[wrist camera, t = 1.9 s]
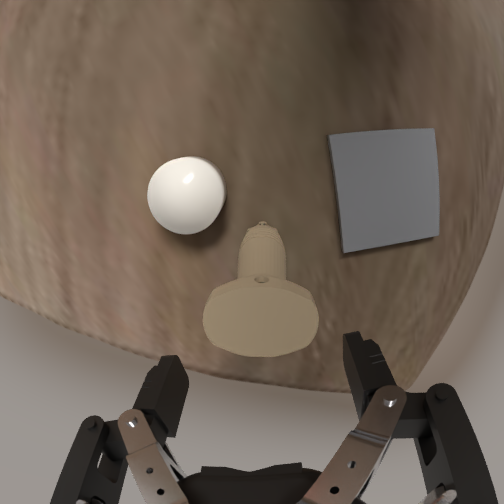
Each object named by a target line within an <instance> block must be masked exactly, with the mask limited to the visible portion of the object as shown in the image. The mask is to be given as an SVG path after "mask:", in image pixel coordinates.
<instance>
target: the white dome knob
mask: <svg viewBox="0 0 504 504" xmlns="http://www.w3.org/2000/svg"><path fill="white" fill-rule="evenodd" d="M226 194H227V187H226V182H225V178H224V176H223V174H222V172H221V171H220V169H219V168H218V167H217V166H216V165H215V164H214V163H212V162H211V161H209V160H207V159H205V158H202V157H198V156H187V157H182V158H178V159H174V160H171V161H169V162H167V163H165V164H163V165H162V166H161V167H160V168H159V169H157V171H156V172H155V173H154V175H153V176H152V178H151V180H150V183H149V186H148V195H147V197H148V204H149V207H150V210H151V212H152V214H153V216H154V218H155V219H156V220H157V221H158V222H159V223H160V224H161V225H162V226H163V227H164V228H166V229H168V230H170V231H172V232H174V233H178V234H193V233H197V232H200V231H202V230H204V229H205V228H207V227H208V226H209V225H210V224H211V223H212V222H213V221H214V220H215V219H216V217H217V215H218V214H219V212H220V210H221V209H222V207H223V205H224V203H225V200H226Z"/></svg>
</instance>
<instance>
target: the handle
mask: <svg viewBox="0 0 504 504" xmlns="http://www.w3.org/2000/svg"><path fill="white" fill-rule="evenodd" d="M318 323H319V316H318V310H317V307H316V303H315V301H314V299H313V297H312V295H311V293H310V292H309V290H307V289H305V288H303V287H301V286H299V285H297V284H295V283H293V282H290V281H288V280H286V253H285V248H284V244H283V242H282V239H281V237H280V236H279V233H278V231H277V229H276V228H272V227H270V226H269V225H268V224H267V223H266V222H263V221H262V222H259V224H258V225H256V226H255V227H252V228H249V229H248V231H247V233H246V235H245V237H244V239H243V241H242V243H241V246H240V250H239V255H238V273H237V279H236V280H233V281H230V282H228V283H225V284H223V285H221V286H219V287H217V288H215V289H214V290H213V291H212V292H211V294H210V296H209V298H208V300H207V302H206V305H205V308H204V312H203V326H204V330H205V333H206V335H207V337H208V338H209V340H210V341H211V342H212V343H213V344H214V345H215V346H217V347H219V348H222V349H224V350H227V351H230V352H232V353H235V354H239V355H242V356H250V357H275V356H281V355H285V354H288V353H291V352H294V351H297V350H300V349H302V348H305V347H307V346H308V345H309V344H310V342H311V341H312V340H313V339H314V337H315V335H316V332H317V329H318Z"/></svg>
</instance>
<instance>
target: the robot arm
mask: <svg viewBox="0 0 504 504" xmlns="http://www.w3.org/2000/svg"><path fill="white" fill-rule="evenodd" d="M343 361H344V368H345V371H346V375H347V378H348V382H349V385H350V389H351V392H352V395H353V400H354V403H355V407H356V411H357V414H358V418H359V423H358V425H357V427H356V428H355V430H354V431H351V432H350V433H349V434H348V435H347V437H346V438H345V440H344V441H343V443H342V445H341V446H340V448H339V449H338V451H337V452H336V454H335V455H334V457H333V458H332V460H331V461H330V462H329V464H328V465H327V467H326V468H325V470H324V471H323V472H320V471H317V470H313V469H307V468H302V463H301V462H300V463H292V464H283V465H274V466H271V467H268V468H264V469H260V470H256V471H252V472H247V471H241V470H236V469H232V468H227V467H207V466H202V468H201V472H200V473H196V474H193V475H190V476H187V475H186V474H185V473H184V471H183V470H182V469H181V467H180V465H179V464H178V462H177V460H176V459H175V457H174V456H173V454H172V452H171V450H170V449H169V447H168V445H167V443H166V442H165V441H166V438H167V437H174V438H175V436H176V432H177V428H178V425H179V421H180V417H181V414H182V410H183V406H184V402H185V398H186V395H187V392H188V388H189V379H188V376H187V373H186V371H185V369H184V367H183V365H182V363H181V361H180V359H179V357H178V356H177V355H168V356H162V357H161V359H160V361H159V364H158V366H154V367H153V368H152V369H151V370H150V371H149V372H148V373H147V376H146V378H145V382H144V383H143V385H142V388H141V390H140V392H139V394H138V397H137V399H136V401H135V404H134V406H133V408H132V409H130V410H127V411H125V412H124V413H122V414H121V415H120V417H119V419H118V420H114V421H107V422H104V421H103V419H101V417H99V416H90V417H88V418H86V419H85V420H84V421H83V422H82V424H81V426H80V429H79V431H78V433H77V435H76V438H75V440H74V442H73V445H72V447H71V449H70V452H69V454H68V457H67V459H66V462H65V464H64V467H63V469H62V472H61V474H60V477H59V480H58V482H57V485H56V488H55V491H54V494H53V496H52V499H51V502H50V504H118V503H119V499H120V495H121V490H122V487H123V483H124V479H125V475H126V471H127V467H128V464H129V467H130V469H131V471H132V474H133V476H134V479H135V481H136V483H137V485H138V487H139V489H140V492H141V494H142V496H143V498H144V500H145V502H146V504H366V503H365V502H363V501H362V500H361V497H362V495H363V494H364V492H365V491H366V489H367V487H368V485H369V484H370V482H371V481H372V479H373V477H374V475H375V473H376V471H377V469H378V467H379V466H380V464H381V462H382V460H383V458H384V456H385V454H386V452H387V450H388V448H389V446H390V444H391V442H392V440H393V438H414V442H415V446H416V449H417V453H418V456H419V460H420V465H421V468H422V473H423V477H424V481H425V485H426V490H427V496H426V497H425V498H424V499H423V500H422V501H421V502H420V503H419V504H498V500H497V497H496V494H495V490H494V486H493V483H492V480H491V477H490V473H489V470H488V468H487V465H486V462H485V459H484V456H483V453H482V451H481V448H480V445H479V443H478V441H477V438H476V435H475V433H474V431H473V428H472V426H471V423H470V421H469V419H468V416H467V414H466V412H465V410H464V408H463V406H462V403H461V401H460V399H459V397H458V395H457V393H456V391H455V389H454V388H453V387H452V386H450V385H448V384H445V383H439V384H435V385H433V386H431V387H430V388H429V389H428V391H427V392H426V393H409V392H405V391H404V390H403V389H402V388H401V387H398V386H397V385H396V383H395V380H394V378H393V376H392V374H391V371H390V369H389V367H388V365H387V363H386V361H385V358H384V356H383V355H382V352H381V350H380V347H379V345H378V344H376V343H375V342H374V341H373V340H371V339H369V340H365V341H363V339H362V337H361V334H360V332H359V331H356V332H351V333H346V334H343ZM101 452H102V453H103V455H102V458H101V461H100V464H99V467H98V468H97V464H98V461H99V458H100V455H101Z"/></svg>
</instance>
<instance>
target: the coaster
mask: <svg viewBox="0 0 504 504" xmlns="http://www.w3.org/2000/svg"><path fill="white" fill-rule="evenodd" d="M327 140H328V146H329V152H330V158H331V164H332V171H333V178H334V185H335V193H336V201H337V209H338V218H339V228H340V239H341V250H342V251H343V253H347V252H353V251H358V250H364V249H370V248H375V247H380V246H386V245H391V244H397V243H402V242H407V241H413V240H418V239H423V238H428V237H433V236H439V175H438V161H437V149H436V140H435V132H434V128H419V129H392V130H376V131H363V132H351V133H341V134H332V135H327Z"/></svg>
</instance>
